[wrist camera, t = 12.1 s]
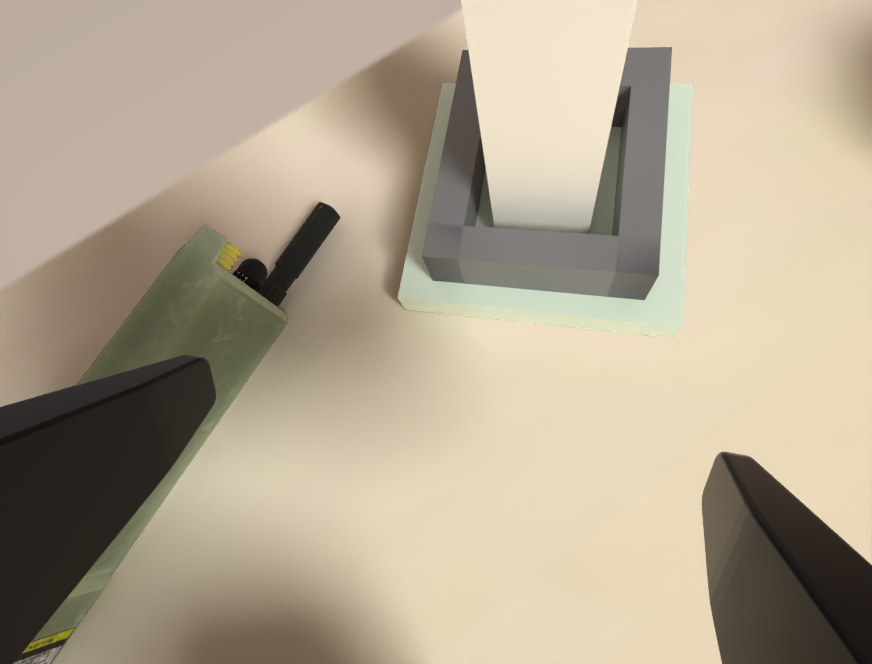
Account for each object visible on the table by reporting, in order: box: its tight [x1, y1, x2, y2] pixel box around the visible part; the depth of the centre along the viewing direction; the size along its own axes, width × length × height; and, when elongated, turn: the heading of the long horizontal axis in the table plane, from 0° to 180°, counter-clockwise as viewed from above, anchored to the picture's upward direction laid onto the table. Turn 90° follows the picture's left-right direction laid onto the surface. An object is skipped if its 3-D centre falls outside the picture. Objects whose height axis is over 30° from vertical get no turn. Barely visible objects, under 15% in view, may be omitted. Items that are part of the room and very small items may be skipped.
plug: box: [461, 0, 638, 234], centre depth 17 cm, size 6×4×13 cm, turn 171°
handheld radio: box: [14, 202, 340, 664], centre depth 22 cm, size 7×3×25 cm
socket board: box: [397, 47, 693, 338], centre depth 23 cm, size 12×12×4 cm
